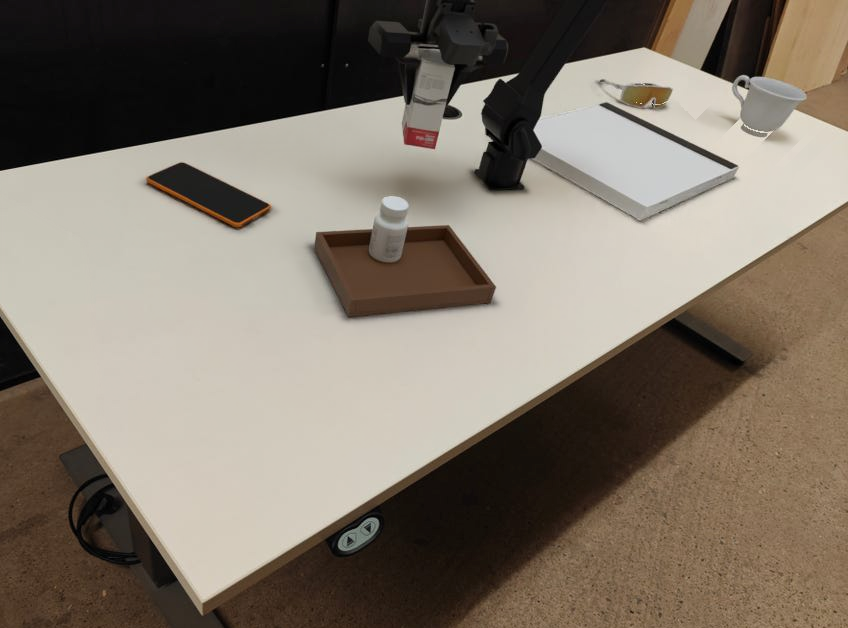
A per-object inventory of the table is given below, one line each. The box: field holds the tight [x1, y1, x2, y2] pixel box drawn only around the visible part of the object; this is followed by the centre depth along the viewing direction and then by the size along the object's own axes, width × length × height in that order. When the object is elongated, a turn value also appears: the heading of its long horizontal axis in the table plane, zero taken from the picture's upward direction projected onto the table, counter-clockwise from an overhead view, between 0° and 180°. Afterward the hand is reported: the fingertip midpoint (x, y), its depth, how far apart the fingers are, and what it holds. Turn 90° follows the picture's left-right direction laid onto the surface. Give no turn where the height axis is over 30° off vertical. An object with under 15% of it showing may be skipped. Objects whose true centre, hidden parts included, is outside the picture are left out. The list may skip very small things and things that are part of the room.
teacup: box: [731, 74, 808, 138], centre depth 148 cm, size 12×15×10 cm
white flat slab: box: [530, 101, 740, 221], centre depth 126 cm, size 35×2×31 cm
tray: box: [313, 224, 497, 318], centre depth 86 cm, size 19×14×2 cm
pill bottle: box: [369, 195, 410, 263], centre depth 86 cm, size 4×4×8 cm
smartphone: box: [145, 161, 272, 228], centre depth 93 cm, size 8×17×1 cm, turn 58°
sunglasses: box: [599, 78, 674, 110], centre depth 154 cm, size 14×15×5 cm
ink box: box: [401, 48, 455, 150], centre depth 96 cm, size 9×5×12 cm, turn 0°
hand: (425, 104), depth 97 cm, fingers closed on ink box, 6 cm apart
